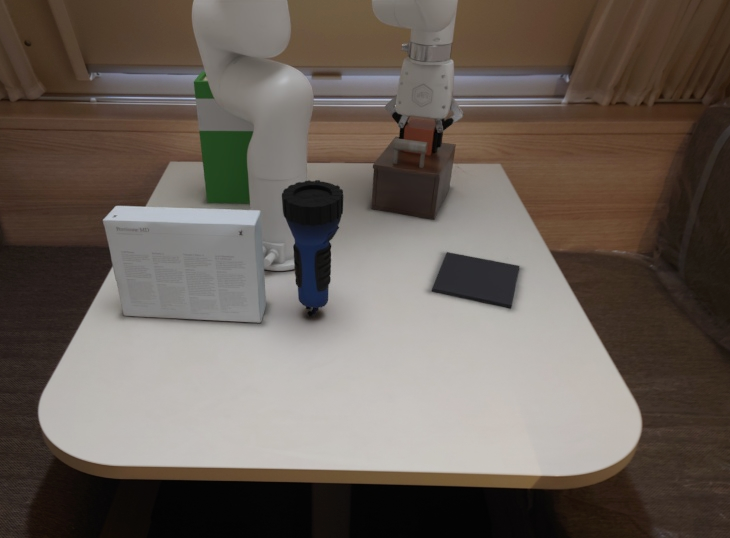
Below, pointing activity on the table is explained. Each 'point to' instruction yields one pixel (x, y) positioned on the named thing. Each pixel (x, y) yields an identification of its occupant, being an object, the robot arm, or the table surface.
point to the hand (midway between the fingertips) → (419, 147)
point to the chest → (410, 192)
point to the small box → (420, 133)
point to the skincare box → (188, 262)
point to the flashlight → (313, 236)
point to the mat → (477, 279)
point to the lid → (414, 158)
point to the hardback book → (222, 148)
